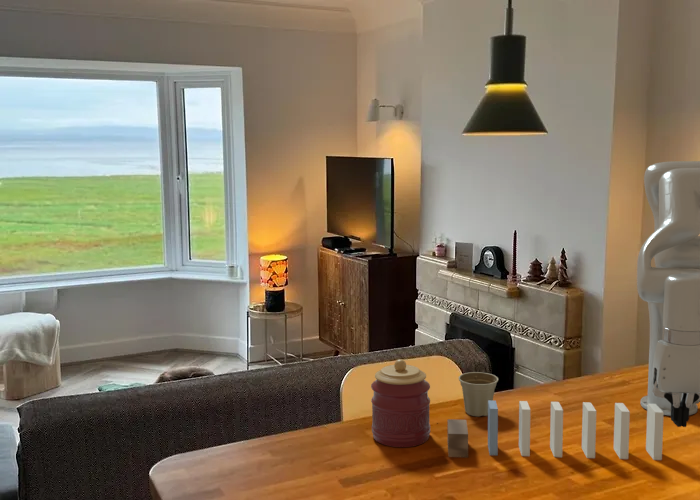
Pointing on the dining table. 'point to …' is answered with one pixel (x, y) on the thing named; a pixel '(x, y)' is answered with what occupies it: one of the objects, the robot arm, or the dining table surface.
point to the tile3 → (588, 429)
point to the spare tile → (492, 427)
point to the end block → (457, 438)
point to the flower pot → (477, 392)
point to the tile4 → (556, 429)
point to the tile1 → (654, 431)
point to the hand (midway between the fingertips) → (679, 424)
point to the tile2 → (621, 430)
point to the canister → (400, 406)
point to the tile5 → (524, 428)
